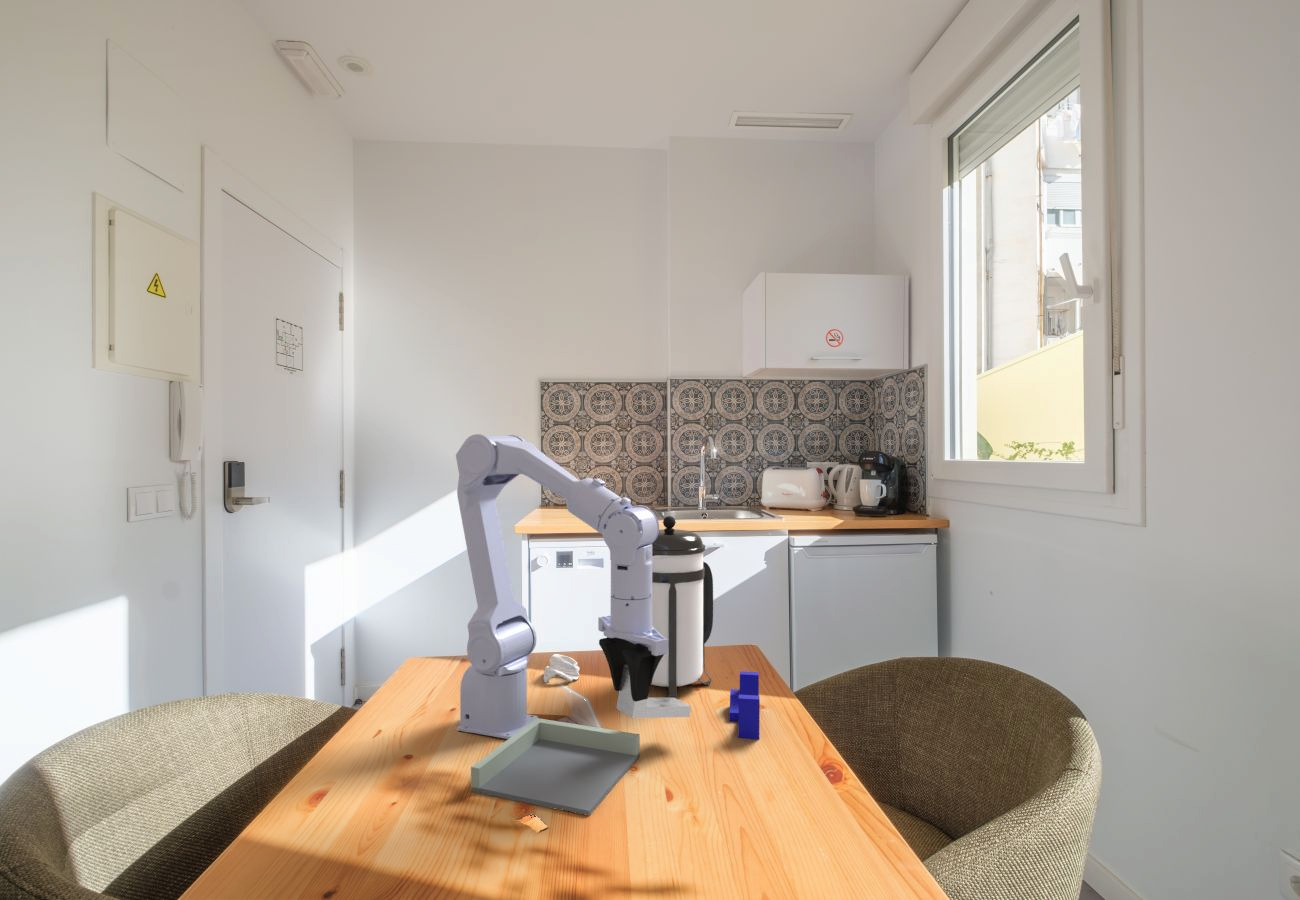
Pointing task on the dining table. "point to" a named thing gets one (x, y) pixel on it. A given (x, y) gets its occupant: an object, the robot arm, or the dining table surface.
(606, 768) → the corner tray
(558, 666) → the whipped cream
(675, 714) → the brushed metal block
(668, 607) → the coffee press
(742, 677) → the cable clip
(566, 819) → the dining table surface
